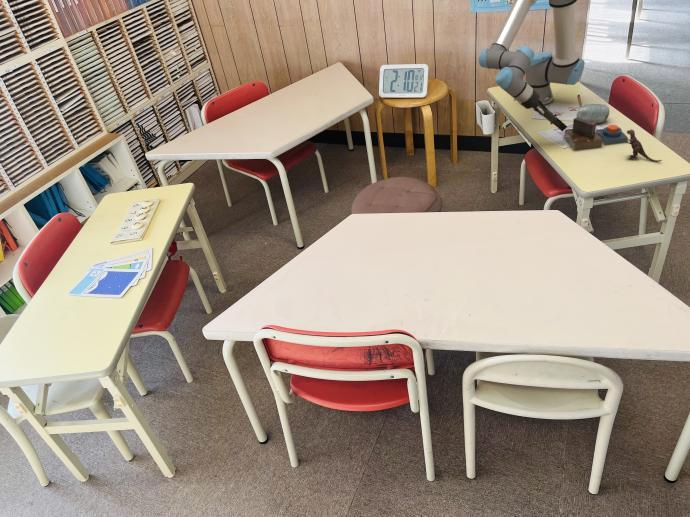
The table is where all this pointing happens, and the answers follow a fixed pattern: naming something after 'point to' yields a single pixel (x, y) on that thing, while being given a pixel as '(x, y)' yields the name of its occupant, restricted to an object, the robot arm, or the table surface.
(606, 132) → the buzzer
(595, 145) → the dial console
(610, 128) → the button
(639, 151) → the dinosaur model
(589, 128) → the pointer
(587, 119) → the grey striped ovoid
